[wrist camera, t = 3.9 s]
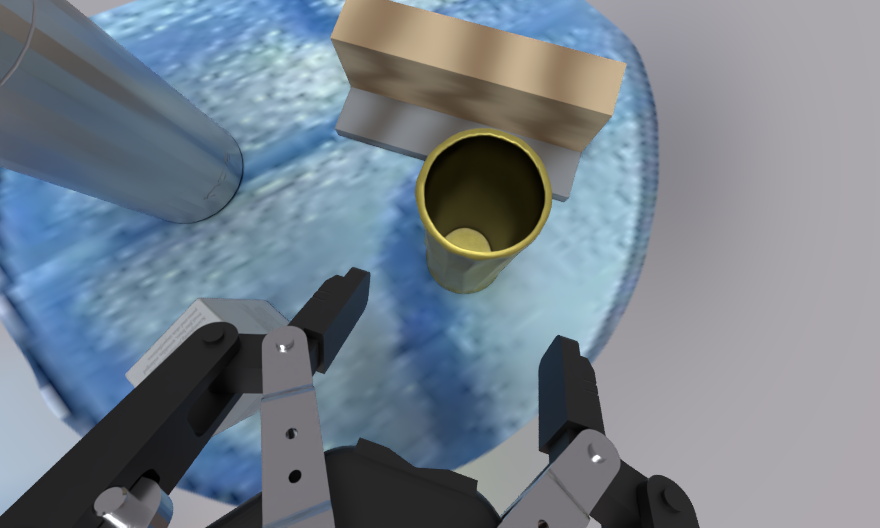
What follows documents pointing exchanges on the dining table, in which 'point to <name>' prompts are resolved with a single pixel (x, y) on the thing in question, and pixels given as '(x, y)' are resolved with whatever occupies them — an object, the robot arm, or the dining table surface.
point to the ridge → (468, 85)
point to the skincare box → (204, 311)
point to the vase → (480, 206)
